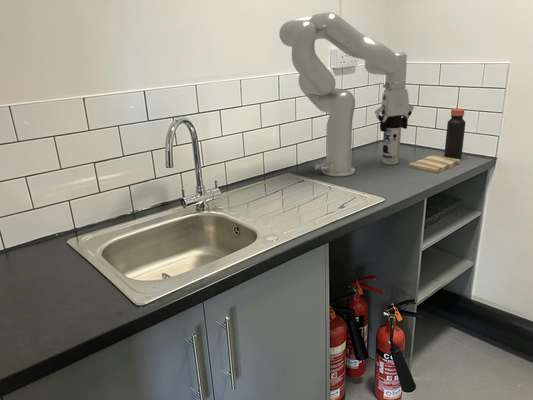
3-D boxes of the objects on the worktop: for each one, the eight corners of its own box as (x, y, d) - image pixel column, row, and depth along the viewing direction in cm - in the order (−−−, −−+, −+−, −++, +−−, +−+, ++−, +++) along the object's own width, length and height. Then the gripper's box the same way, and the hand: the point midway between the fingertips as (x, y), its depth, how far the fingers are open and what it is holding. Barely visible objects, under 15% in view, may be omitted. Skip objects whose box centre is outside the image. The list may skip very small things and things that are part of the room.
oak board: (437, 173, 164) (437, 169, 164) (408, 167, 173) (408, 163, 173) (460, 163, 175) (460, 159, 175) (432, 158, 184) (432, 154, 184)
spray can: (378, 162, 182) (381, 113, 175) (391, 159, 184) (394, 112, 177) (389, 166, 176) (392, 116, 169) (402, 163, 179) (405, 114, 172)
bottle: (456, 155, 187) (461, 107, 180) (464, 159, 181) (470, 110, 174) (441, 156, 187) (445, 108, 180) (448, 160, 180) (453, 111, 173)
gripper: (381, 89, 164) (380, 134, 170) (420, 84, 169) (417, 128, 175) (370, 87, 170) (369, 130, 177) (408, 83, 175) (406, 125, 182)
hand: (393, 129), depth 176 cm, fingers open, 9 cm apart
